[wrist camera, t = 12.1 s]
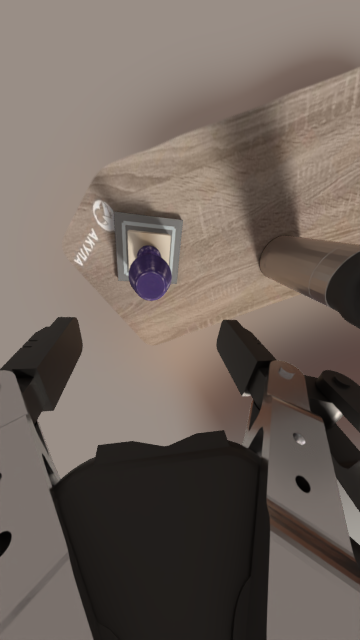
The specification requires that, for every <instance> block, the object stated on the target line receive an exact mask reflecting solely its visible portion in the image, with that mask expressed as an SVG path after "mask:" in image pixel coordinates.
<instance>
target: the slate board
mask: <svg viewBox="0 0 360 640" xmlns="http://www.w3.org/2000/svg"><path fill="white" fill-rule="evenodd" d="M114 223H115V238H116V253H117V268H118V281H129V258H128V230H137V231H146V232H155V233H165V234H169V235H171V242H170V256H169V267H170V269H171V273H172V280H171V283H172V284H177V275H178V265H179V255H180V245H181V235H182V225H183V220H177V219H169V218H161V217H153V216H145V215H138V214H130V213H122V212H114Z"/></svg>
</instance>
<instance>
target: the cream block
mask: <svg viewBox="0 0 360 640" xmlns="http://www.w3.org/2000/svg"><path fill="white" fill-rule="evenodd" d="M170 242H171V235H169V234H165V233H155V232H146V231H137V230H128V258H129V268H130V266H131V264H132V262H133V261H134V260H135V259H136V258H137V253H138V251H139V249H140V248H142V247H143V246H146V245H150V246H154V247H155V248H157V249H158V250H159V252H160V254H161V258H163V259H164V260H165V261H166V262H167V264H168V265H169V256H170Z"/></svg>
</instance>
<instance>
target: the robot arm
mask: <svg viewBox="0 0 360 640" xmlns="http://www.w3.org/2000/svg"><path fill="white" fill-rule="evenodd" d="M260 269H261V272H262V273H263V274H264V275H265V276H266V277H268V278H270V279H272V280H274V281H276V282H278V283H280V284H283V285H285V286H287V287H289V288H291V289H293V290H295V291H297V292H299V293H301V294H303V295H305V296H307V297H309V298H311V299H314V300H316V301H318V302H320V303H322V304H324V305H326V306H328V307H330V308H332V309H334V310H336V311H338V312H339V313H340V314H341V316H342V317H343V318H344V319H345V320H346V321H348V322H349V323H351V324H352V325H354V326H356V327H358V328H359V329H360V245H358V244H349V243H341V242H333V241H325V240H317V239H309V238H302V237H294V236H280V237H277V238H275V239H274V240H272V241H271V242H270V243H269V244H268V245H267V246H266V247H265V249H264V250H263V252H262V255H261V258H260ZM82 346H83V345H82V338H81V333H80V328H79V324H78V320H77V318H75V317H58V318H57V319H56V320H55V321H54V322H53V324H52V325H51V326H50V327H45V328H43V329H41V330H40V331H38V332H36V333H35V334H34V335H33V336H32V337H31V338H30V339H29V340H28V342H26V343H25V344H24V345H23V347H22V348H20V349H19V351H17V353H15V354H14V355H13V357H12V358H11V359H10V360H9V361H8V362H7V363H6V364H5V365H4V366H3V367H2V368H1V369H0V640H360V545H359V544H358V543H357V542H355V541H354V540H353V539H352V538H351V537H350V536H349V534H348V530H347V525H346V521H345V516H344V511H343V507H342V503H341V498H340V494H339V489H338V485H337V480H336V478H337V479H338V481H339V482H340V484H341V485H342V487H343V488H344V490H345V491H346V493H347V494H348V495H349V497H350V498H351V500H352V501H353V503H354V504H355V506H356V507H357V509H358V510H359V512H360V451H359V450H358V449H357V448H356V446H355V445H354V444H353V443H352V442H351V441H350V440H349V438H348V437H347V436H346V435H345V434H344V433H343V431H342V430H341V429H340V428H339V427H338V426H337V424H336V422H337V421H338V420H339V419H340V418H341V417H342V416H343V415H344V416H345V417H346V418H347V419H348V421H349V422H350V423H352V425H353V426H354V427H355V428H356V429H357V430H358V431H359V432H360V386H359V385H358V384H356V383H355V382H354V381H353V380H351V379H350V378H348V377H346V376H345V375H343V374H340V373H338V372H335V371H331V370H325V371H323V372H322V373H321V375H320V376H319V377H318V378H315V377H311V376H306V375H303V373H302V372H301V371H300V370H299V369H298V368H296V367H295V366H294V365H292V364H290V363H287V362H285V361H280V360H276V359H275V358H274V357H273V355H272V354H271V353H270V352H269V351H268V350H267V349H266V348H265V347H264V346H263V345H262V344H261V342H260V341H259V340H257V338H256V337H255V336H254V335H253V334H252V333H251V332H250V331H248V330H247V329H245V328H243V327H242V326H241V324H240V323H239V322H238V321H237V320H223V321H222V323H221V327H220V331H219V335H218V338H217V350H218V352H219V354H220V356H221V358H222V360H223V361H224V363H225V365H226V367H227V369H228V371H229V373H230V375H231V377H232V378H233V380H234V382H235V384H236V386H237V388H238V390H239V392H240V393H241V395H242V396H252V398H253V400H252V402H251V406H250V411H249V417H248V422H247V428H246V434H245V438H244V441H243V444H242V445H240V444H238V443H235V442H232V441H228V440H227V437H226V435H225V432H224V430H222V431H214V432H206V433H197V434H194V435H192V436H190V437H187V438H185V439H183V440H181V441H178V442H176V443H174V444H172V445H169V446H158V445H152V444H146V443H140V442H134V441H130V442H121V443H114V444H105V445H98V448H97V452H96V457H94V458H92V459H89V460H88V461H86V462H84V463H82V464H81V465H79V466H77V467H76V468H74V469H73V470H72V471H70V472H69V473H68V474H67V475H65V476H64V477H63V478H62V479H60V477H59V474H58V472H57V470H56V468H55V465H54V463H53V460H52V458H51V455H50V452H49V449H48V447H47V444H46V441H45V439H44V436H43V433H42V430H41V427H40V425H39V422H38V421H37V419H38V417H39V415H40V414H41V412H42V411H53V410H54V409H55V407H56V405H57V403H58V400H59V398H60V396H61V394H62V392H63V390H64V388H65V386H66V384H67V382H68V380H69V378H70V375H71V374H72V372H73V369H74V367H75V365H76V363H77V361H78V359H79V357H80V355H81V352H82Z"/></svg>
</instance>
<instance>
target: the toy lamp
mask: <svg viewBox="0 0 360 640" xmlns="http://www.w3.org/2000/svg"><path fill="white" fill-rule="evenodd" d="M171 280H172V273H171V269H170V267H169V265H168V264H167V262H166V261H165V260H164V259H163V258H161V254H160V252H159V250H158V249H157V248H155V247H154V246H150V245H146V246H143V247H142V248H140V249H139V251H138V253H137V258H136V259H135V260H134V261H133V262H132V264H131V266H130V268H129V281H130V284H131V286H132V288H133V289H134V290H135V292H136V293H137V294H138V295H139V296H140V297H141V298H143V299H145V300H150V301H153V300H157V299H159V298H161V297H162V296H163V295H164V294H165V293H166V291H167V290H168V288H169V286H170V284H171Z"/></svg>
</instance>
